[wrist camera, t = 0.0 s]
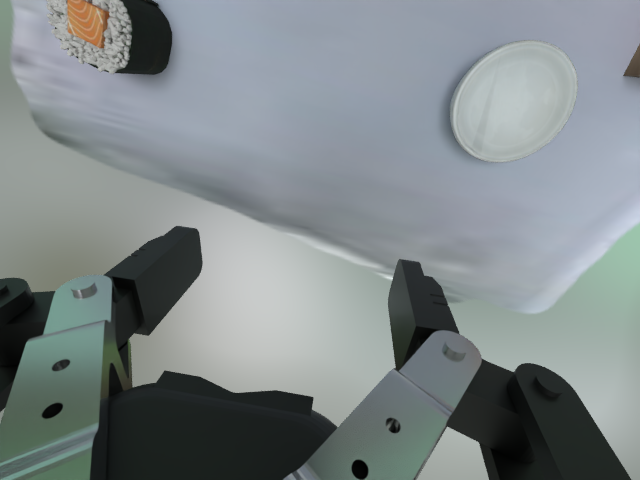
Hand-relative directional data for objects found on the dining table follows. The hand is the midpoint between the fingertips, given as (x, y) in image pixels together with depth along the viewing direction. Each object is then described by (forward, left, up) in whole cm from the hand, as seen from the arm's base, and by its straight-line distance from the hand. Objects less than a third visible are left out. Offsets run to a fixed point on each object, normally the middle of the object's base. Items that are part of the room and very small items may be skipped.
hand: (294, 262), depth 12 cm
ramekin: (-6, +17, -30) cm, 35 cm away
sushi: (-9, -25, -30) cm, 40 cm away
